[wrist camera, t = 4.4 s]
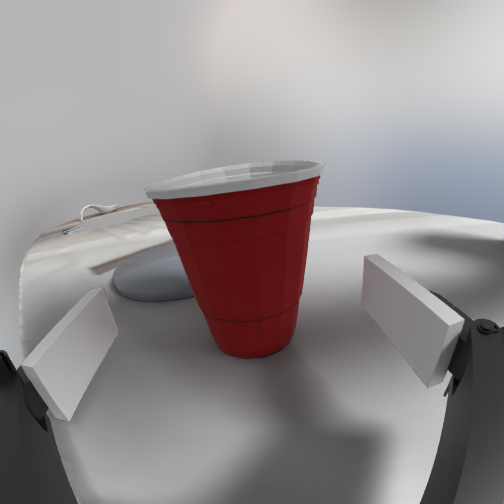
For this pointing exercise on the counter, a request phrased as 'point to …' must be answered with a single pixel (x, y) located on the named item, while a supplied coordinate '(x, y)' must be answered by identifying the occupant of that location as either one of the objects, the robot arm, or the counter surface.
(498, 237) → the counter surface
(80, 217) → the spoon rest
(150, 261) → the gray round coaster
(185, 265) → the plastic cup
